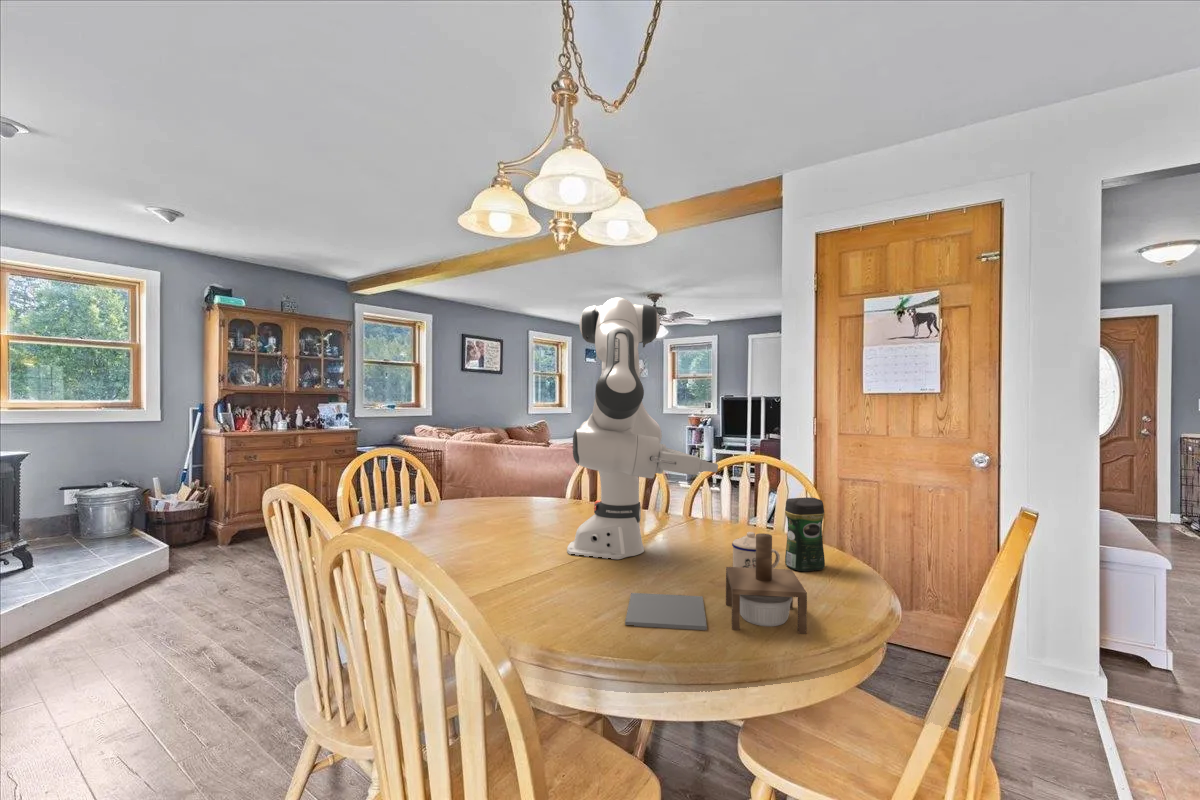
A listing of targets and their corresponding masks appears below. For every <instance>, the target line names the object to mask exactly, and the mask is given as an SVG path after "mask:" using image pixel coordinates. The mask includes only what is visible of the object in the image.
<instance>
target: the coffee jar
mask: <svg viewBox="0 0 1200 800" xmlns="http://www.w3.org/2000/svg"><path fill="white" fill-rule="evenodd" d="M784 512H785V516H786V519H787V534H786V535H787V537H786V545H785V557H784V562H785V565H786V567H788V569H791V570H795V571H798V572H814V570H815V571H822V570H824V568H825V566H826V563H825V552H824V549H825V548H824V542H823V521H824V517H825V507H824V503H823V500H822V499H819V498H816V497H794V498H787V499H786V501H785V509H784Z"/></svg>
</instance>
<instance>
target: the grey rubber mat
mask: <svg viewBox="0 0 1200 800" xmlns="http://www.w3.org/2000/svg"><path fill="white" fill-rule="evenodd" d="M706 618H707V617H706V610H705V605H704V597H703V596H702V595H683V594H681V595H680V594H664V593H662V594H661V593H659V594H658V593H645V592H643V593H642V592H630V597H629V601H628V607H627V611H626V617H625V621H624V626H625V625H634V626H633V627H641V628H642V627H643V628H660V629H661V628H663V629H678V630H692V631H693V630H696V631H707V630H708V626H707V619H706Z"/></svg>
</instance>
